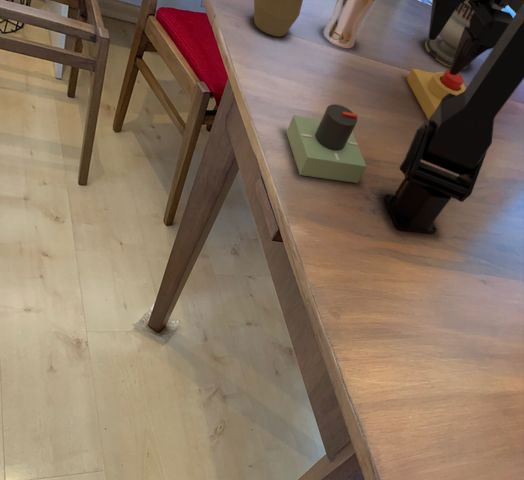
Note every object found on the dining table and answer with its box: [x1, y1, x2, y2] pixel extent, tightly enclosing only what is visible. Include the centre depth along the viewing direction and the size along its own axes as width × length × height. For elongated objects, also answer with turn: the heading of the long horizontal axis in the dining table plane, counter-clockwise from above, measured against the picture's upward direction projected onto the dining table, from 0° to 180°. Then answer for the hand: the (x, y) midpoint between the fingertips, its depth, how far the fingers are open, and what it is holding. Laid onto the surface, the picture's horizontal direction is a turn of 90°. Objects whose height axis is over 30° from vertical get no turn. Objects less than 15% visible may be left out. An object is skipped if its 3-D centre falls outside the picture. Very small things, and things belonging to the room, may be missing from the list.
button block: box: [406, 68, 467, 120], centre depth 99 cm, size 12×9×4 cm
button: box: [440, 69, 465, 91], centre depth 97 cm, size 4×4×2 cm
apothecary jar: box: [424, 0, 509, 71], centre depth 107 cm, size 12×12×18 cm
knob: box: [315, 103, 358, 150], centre depth 75 cm, size 4×4×4 cm
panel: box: [286, 114, 368, 184], centre depth 78 cm, size 9×9×3 cm
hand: (441, 56), depth 86 cm, fingers open, 9 cm apart
